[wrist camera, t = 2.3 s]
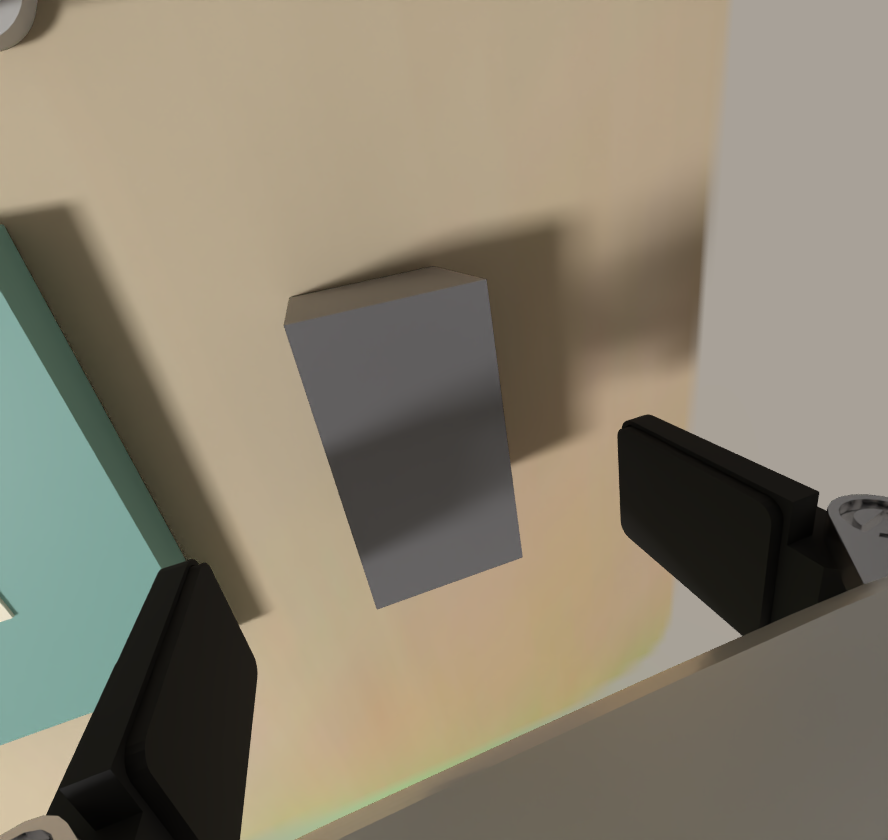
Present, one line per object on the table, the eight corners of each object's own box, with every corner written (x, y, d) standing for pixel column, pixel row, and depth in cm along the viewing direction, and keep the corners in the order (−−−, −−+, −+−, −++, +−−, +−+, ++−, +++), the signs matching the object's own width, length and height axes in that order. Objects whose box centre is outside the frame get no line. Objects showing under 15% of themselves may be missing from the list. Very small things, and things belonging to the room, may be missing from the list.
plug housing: (358, 518, 16) (376, 609, 12) (289, 297, 13) (284, 325, 9) (471, 482, 17) (522, 557, 13) (433, 266, 14) (486, 279, 10)
